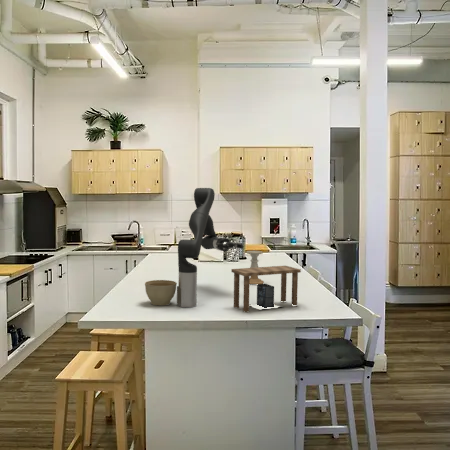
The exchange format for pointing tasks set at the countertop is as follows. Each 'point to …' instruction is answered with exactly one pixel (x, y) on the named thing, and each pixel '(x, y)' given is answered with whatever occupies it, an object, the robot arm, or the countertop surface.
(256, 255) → the candle holder
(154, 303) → the planter bowl
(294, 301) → the low shelf
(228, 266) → the countertop surface
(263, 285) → the box
